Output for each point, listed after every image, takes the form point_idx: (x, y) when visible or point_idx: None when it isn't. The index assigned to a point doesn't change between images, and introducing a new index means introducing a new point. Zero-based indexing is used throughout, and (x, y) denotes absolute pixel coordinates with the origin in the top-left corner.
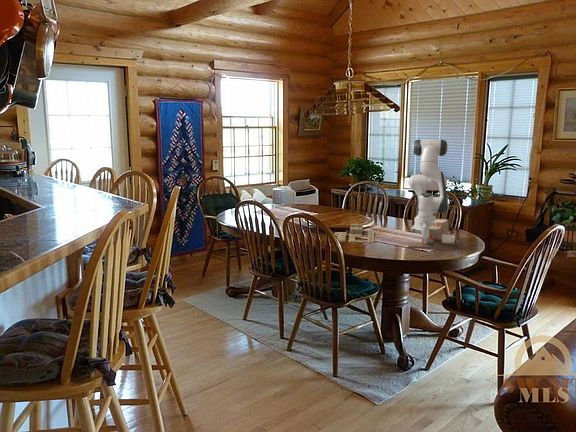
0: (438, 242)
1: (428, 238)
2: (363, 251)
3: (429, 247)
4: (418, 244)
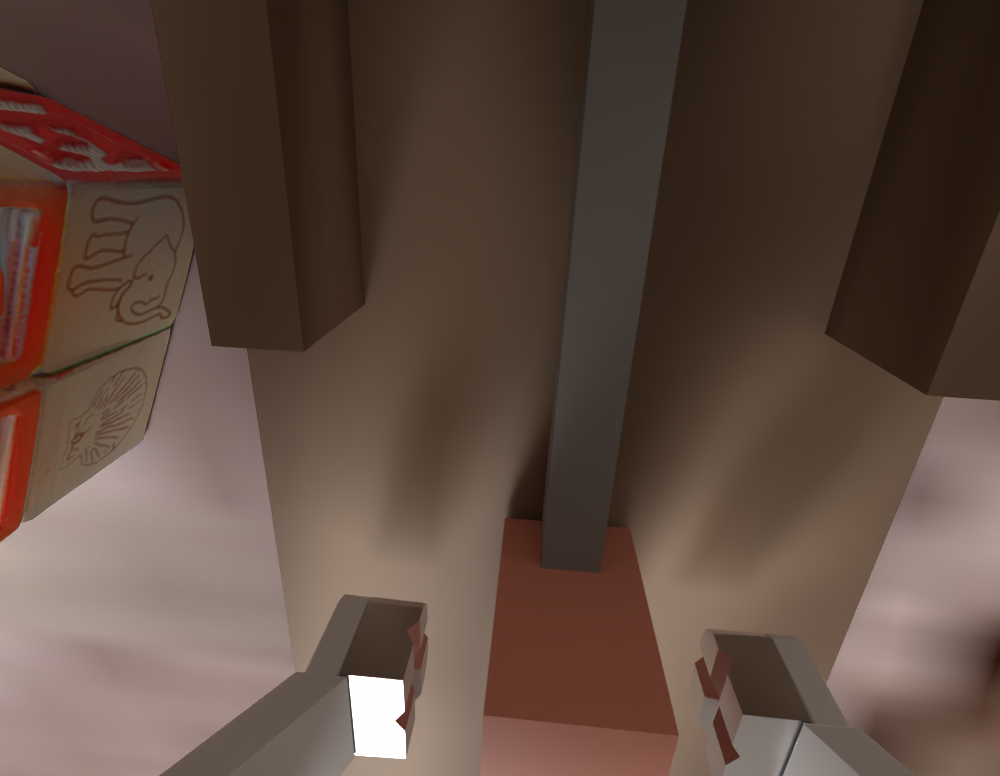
0: (331, 91)
1: (31, 473)
2: None
3: (897, 486)
4: None
